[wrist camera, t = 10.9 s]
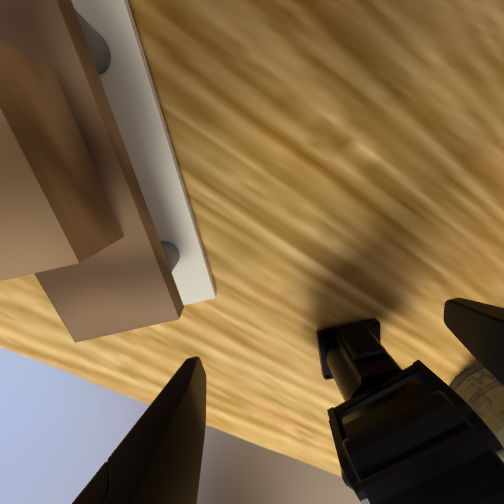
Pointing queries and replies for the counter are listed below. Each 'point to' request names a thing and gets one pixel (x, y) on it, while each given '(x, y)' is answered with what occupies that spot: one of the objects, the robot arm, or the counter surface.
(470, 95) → the counter surface
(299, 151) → the counter surface
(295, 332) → the counter surface
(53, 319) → the counter surface
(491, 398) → the thermos
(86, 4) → the peg stand
